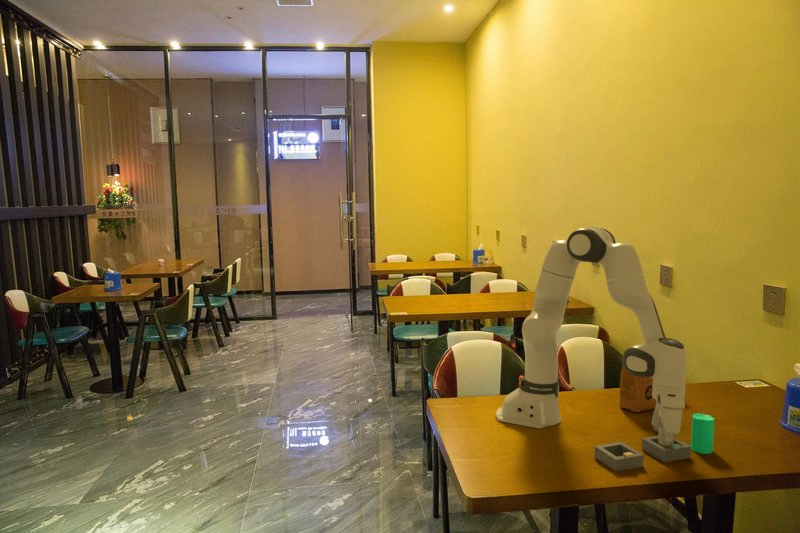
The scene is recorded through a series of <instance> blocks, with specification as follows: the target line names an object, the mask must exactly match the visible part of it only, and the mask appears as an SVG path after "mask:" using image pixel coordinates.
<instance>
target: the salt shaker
mask: <svg viewBox="0 0 800 533" xmlns="http://www.w3.org/2000/svg"><path fill="white" fill-rule="evenodd" d="M656 405H657V403H656ZM651 419H652V420H651V425H652V428H653V430H654V432H656V433H658V432H659V415H658V412H657V409H656V407H655V408H654V411H653V415H652V418H651Z"/></svg>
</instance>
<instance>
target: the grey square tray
mask: <svg viewBox="0 0 800 533" xmlns="http://www.w3.org/2000/svg"><path fill="white" fill-rule="evenodd" d="M641 450H642V451H644V452H645V453H646V454H649V455H651V456H653V457H654V458H656V459H658V460H659V461H661V462H663V463H671V462H674V461H675V462H676V461H681V460H685V459H687V460H688V459H691V453H692V452H691V450H692V449H691V445H689V444H688V443H685V442H684V441H681V440H679V439H678V438H675V437H674V444H672V445H671V447H670V448H664V447H662V446H660V445H659V444H658V435H656V436H655V435H654V436H649V437H648V436H646V437H642V438H641Z"/></svg>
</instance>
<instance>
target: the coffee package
mask: <svg viewBox="0 0 800 533" xmlns="http://www.w3.org/2000/svg"><path fill="white" fill-rule="evenodd" d="M619 381H620V382H619V408H620V409H625V410H629V411H631V412H635V413H639V412H643V411H650V410H653V409H655V407H656V403H657V402H656V399H654V398H653V397H652V387H653V379H652V378H651V377H638V376H633V375H631V374H630V373H628V372H627V370H626V369H625V367H624V365H623V364H622V366H621V372H620V380H619Z"/></svg>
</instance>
